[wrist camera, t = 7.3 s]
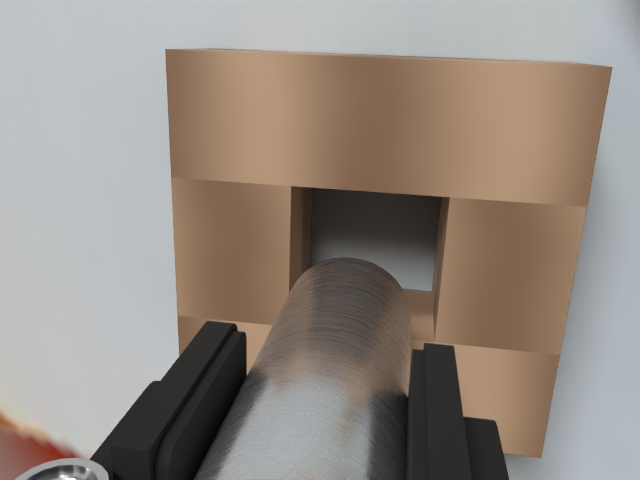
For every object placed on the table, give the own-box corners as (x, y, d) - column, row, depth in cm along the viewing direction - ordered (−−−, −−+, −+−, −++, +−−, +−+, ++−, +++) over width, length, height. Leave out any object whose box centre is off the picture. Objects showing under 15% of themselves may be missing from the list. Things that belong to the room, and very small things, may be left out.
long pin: (416, 263, 15) (420, 1003, 3) (405, 378, 16) (380, 1252, 4) (287, 252, 15) (-105, 873, 4) (285, 364, 16) (-29, 1129, 5)
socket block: (574, 62, 19) (612, 67, 15) (520, 389, 23) (541, 457, 19) (211, 48, 21) (165, 49, 17) (218, 355, 24) (181, 412, 21)
